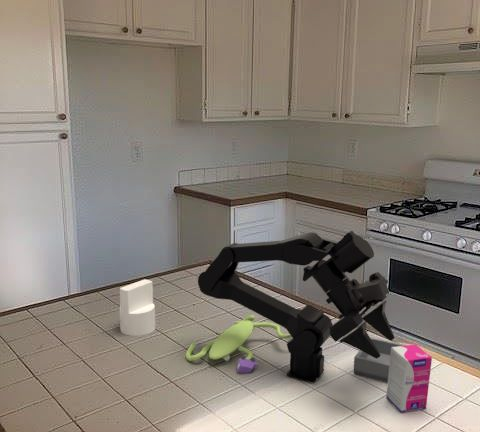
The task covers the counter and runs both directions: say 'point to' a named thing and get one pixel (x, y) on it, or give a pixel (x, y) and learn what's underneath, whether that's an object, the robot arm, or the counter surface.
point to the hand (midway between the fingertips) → (386, 348)
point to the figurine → (235, 343)
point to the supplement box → (408, 378)
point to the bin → (375, 361)
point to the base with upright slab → (137, 308)
